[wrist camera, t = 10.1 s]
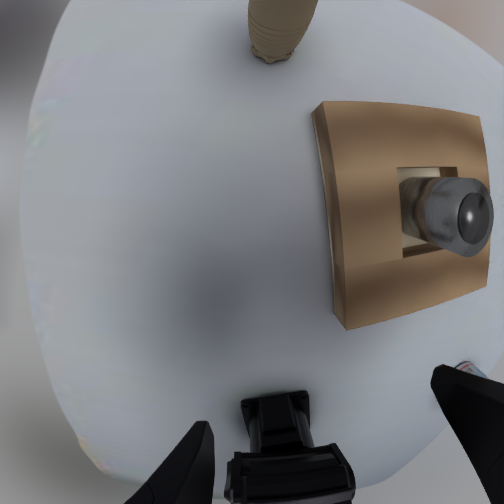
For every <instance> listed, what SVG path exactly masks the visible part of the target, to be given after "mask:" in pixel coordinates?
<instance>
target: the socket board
mask: <svg viewBox="0 0 504 504" xmlns="http://www.w3.org/2000/svg"><path fill="white" fill-rule="evenodd" d="M312 118H313V124H314V129H315V135H316V140H317V146H318V152H319V158H320V165H321V172H322V179H323V186H324V194H325V202H326V210H327V219H328V228H329V239H330V250H331V262H332V277H333V294H334V314H335V315H336V317H337V318H338V320H339V321H340V322H341V324H342V325H343V327H344V328H345V329H346V330H351V329H355V328H359V327H363V326H367V325H371V324H375V323H378V322H382V321H386V320H389V319H393V318H396V317H400V316H403V315H406V314H410V313H413V312H416V311H419V310H422V309H426V308H429V307H432V306H435V305H438V304H440V303H443V302H446V301H449V300H452V299H454V298H457V297H460V296H463V295H465V294H468V293H470V292H473V291H475V290H478V289H480V288H483V287H485V286H486V285H487V277H488V267H489V256H490V237H491V234H490V237H489V240H488V242H487V244H486V245H485V247H484V248H483V249H482V250H481V251H480V252H479V253H478V254H477V255H475V256H473V257H463V256H461V255H458V254H456V253H453V252H451V251H448V250H446V249H443V248H441V247H438V246H436V245H433V244H430V243H428V242H425V241H422V240H420V239H417V238H414V237H412V236H409V235H407V234H405V233H403V232H402V222H401V206H400V194H399V184H400V183H401V182H402V181H404V180H405V179H407V178H409V177H462V178H475V179H478V180H479V181H481V182H482V183H483V184H484V185H485V187H486V188H487V190H488V192H489V194H490V185H489V174H488V164H487V156H486V149H485V143H484V137H483V132H482V127H481V122H480V117H479V116H475V115H470V114H465V113H461V112H455V111H450V110H444V109H438V108H431V107H424V106H416V105H406V104H396V103H382V102H359V101H323V102H322V103H321V104H320V105H319V106H318V107H317V108H316V109H315V110H314V111H313V112H312Z"/></svg>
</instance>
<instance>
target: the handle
mask: <svg viewBox="0 0 504 504" xmlns="http://www.w3.org/2000/svg"><path fill="white" fill-rule="evenodd" d="M317 2H318V0H249V5H248V26H249V34H250V38H251V41H252V44H253V46H252V52H253V54H254V55H255V56H257V57H261V58H263V59H264V60H265V61H266V63H271V64H272V63H273V62H275V61H277V60H287V59H288V58H290V57H291V55H292V54H293V52H294V49H295V48H296V46H297V45H298V44H299V42H300V41H301V39H302V37H303V36H304V34H305V32H306V30H307V28H308V26H309V24H310V22H311V20H312V17H313V15H314V11H315V8H316V5H317Z"/></svg>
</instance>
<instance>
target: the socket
mask: <svg viewBox="0 0 504 504" xmlns="http://www.w3.org/2000/svg"><path fill="white" fill-rule="evenodd" d="M399 194H400V206H401V222H402V232H403V233H405V234H407V235H409V236H412V237H414V238H417V239H420V240H422V241H425V242H428V243H430V244H433V245H436V246H438V247H441V248H443V249H446V250H448V251H451V252H453V253H456V254H458V255H461V256H463V257H473V256H475V255H477V254H478V253H479V252H480V251H481V250H482V249H483V248H484V247H485V245H486V244H487V242H488V240H489V237H490V234H491V231H492V226H493V217H494V214H493V204H492V200H491V196H490V194H489V192H488V190H487V188H486V187H485V185H484V184H483V183H482V182H481V181H479V180H478V179H475V178H462V177H409V178H407V179H405V180H404V181H402V182H401V183H400V184H399Z"/></svg>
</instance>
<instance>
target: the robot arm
mask: <svg viewBox="0 0 504 504" xmlns="http://www.w3.org/2000/svg"><path fill="white" fill-rule="evenodd" d="M430 384H431V388H432V390H433V392H434V394H435V396H436V399H437V401H438V403H439V405H440V407H441V409H442V411H443V413H444V415H445V417H446V419H447V420H448V422H449V424H450V425H451V427H452V429H453V430H454V432H455V434H456V436H457V437H458V439H459V441H460V443H461V444H462V446H463V448H464V450H465V452H466V453H467V455H468V457H469V459H470V461H471V463H472V465H473V467H474V469H475V471H476V473H477V475H478V477H479V479H480V481H481V483H482V485H483V487H484V489H485V491H486V493H487V496H488V498H489V500H490V502H491V504H504V384H503V383H500V382H496V381H493V380H490V379H487V378H484V377H480V376H477V375H474V374H471V373H468V372H465V371H462V370H459V369H456V368H453V367H450V366H447V365H444V364H442V365H439V366H437V367H435V369H434V371H433V375H432V378H431V383H430ZM303 395H305V396H303ZM245 404H247V405H245ZM241 409H242V413H243V417H244V420H245V424H246V427H247V431H248V434H249V438H250V453H241V452H234V459H232V461H229V462H227V479H226V484H225V489H224V498H225V499H227V500H228V501H229V502H230V503H231V504H352V502H351V500H352V499H353V497H354V495H355V489H356V483H355V477H354V473H353V470H352V468H351V466H350V465H349V463H348V462H347V460H346V459H345V457H344V455H343V454H342V452H341V451H340V449H339V448H338V446H337V444H336V443H332V444H329V445H325V446H319V447H314V443H313V439H312V436H311V432H310V414H309V395H308V392H307V391H300V392H294V393H289V394H283V395H277V396H271V397H264V398H256V399H248V400H243V401H242V402H241ZM214 477H215V456H214V435H213V432H212V430H211V427H210V425H209V423H208V421H196V422H195V423H194V425H193V426H192V427H191V428H190V430H189V431H188V432H187V433H186V435H185V436H184V437H183V438H182V440H181V441H180V442H179V443H178V444H177V446H176V447H175V448H174V449H173V451H172V452H171V453H170V454H169V455H168V457H167V458H166V459H165V460H164V461H163V462H162V464H161V465H160V466H159V467H158V468H157V469H156V471H155V472H154V473H153V474H152V475H151V476H150V478H149V479H148V480H147V481H146V482H145V483H144V484H143V485H142V486H141V488H140V489H139V490H138V491H137V492H136V493H135V494H134V495H133V496H132V497H131V498H129V499H128V500H127V501H126V502H125V503H124V504H212V496H213V486H214Z"/></svg>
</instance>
